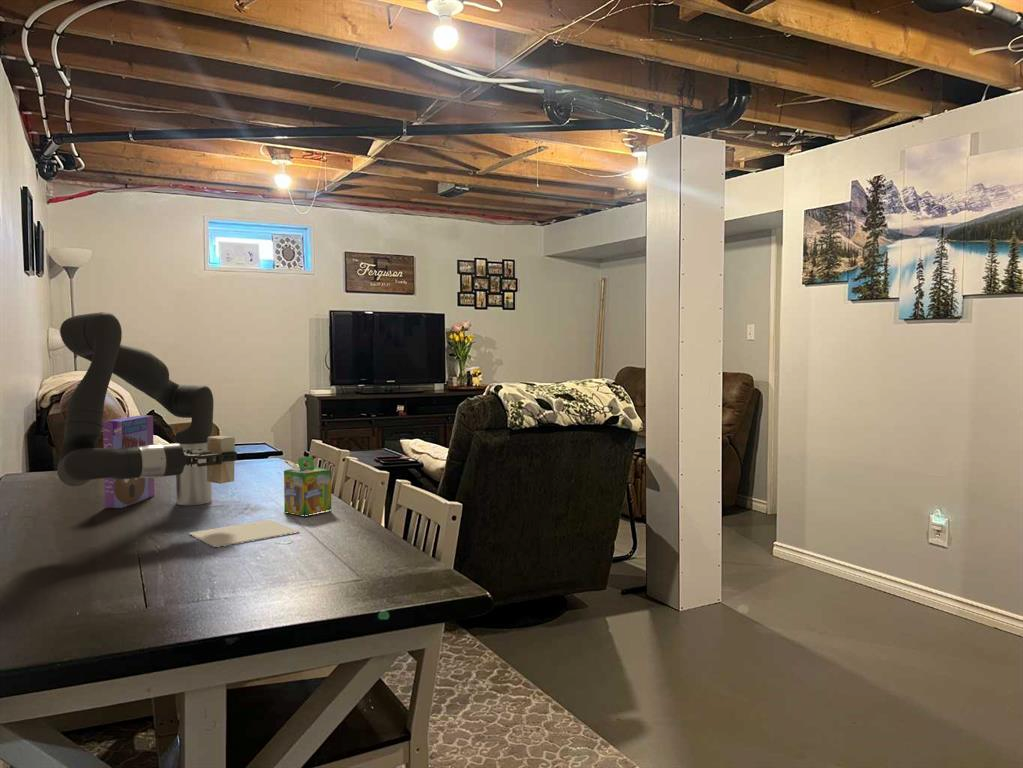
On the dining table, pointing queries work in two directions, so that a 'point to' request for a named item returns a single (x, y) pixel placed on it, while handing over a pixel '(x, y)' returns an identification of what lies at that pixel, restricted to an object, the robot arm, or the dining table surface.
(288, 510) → the chalk box
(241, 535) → the mat
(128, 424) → the cereal box
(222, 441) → the box
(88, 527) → the dining table surface
